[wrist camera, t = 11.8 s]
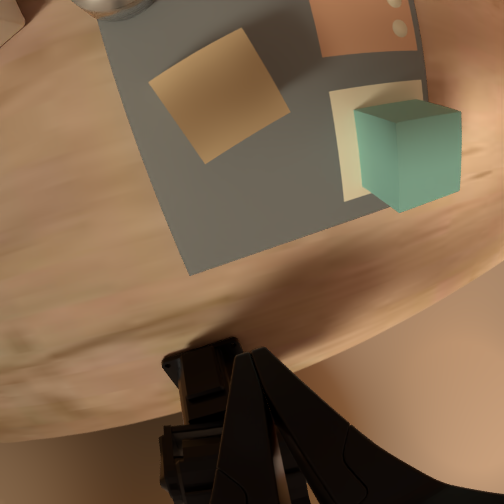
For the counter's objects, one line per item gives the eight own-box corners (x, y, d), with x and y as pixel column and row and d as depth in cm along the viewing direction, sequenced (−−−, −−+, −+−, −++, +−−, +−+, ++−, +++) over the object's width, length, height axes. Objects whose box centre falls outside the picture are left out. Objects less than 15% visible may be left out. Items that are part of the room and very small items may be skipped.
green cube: (420, 168, 20) (459, 190, 16) (362, 186, 19) (399, 213, 16) (416, 99, 17) (461, 111, 14) (353, 109, 17) (395, 123, 13)
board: (421, 187, 22) (430, 193, 21) (188, 267, 20) (189, 276, 20) (386, -61, 11) (395, -64, 10) (88, -27, 10) (84, -32, 9)
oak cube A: (262, 102, 15) (290, 112, 12) (196, 143, 16) (205, 164, 12) (223, 38, 13) (241, 27, 10) (152, 81, 13) (148, 82, 10)
